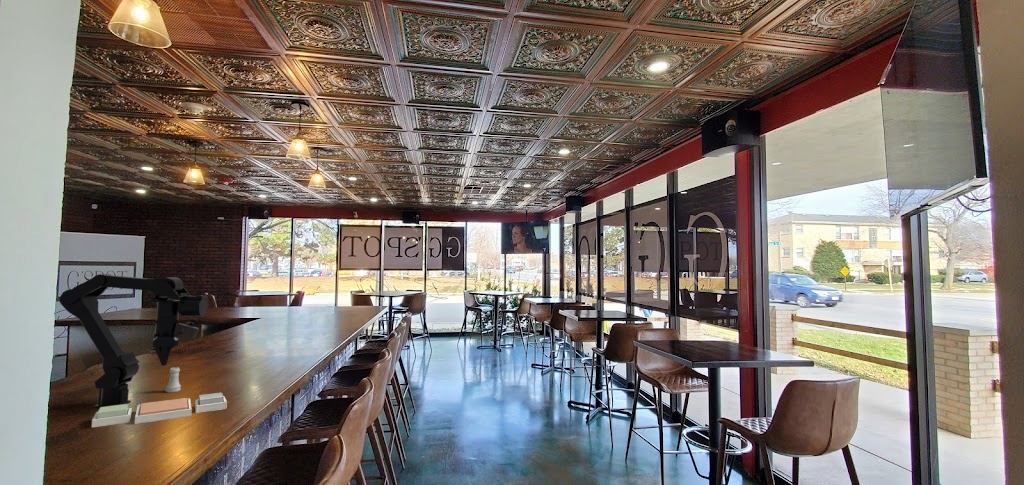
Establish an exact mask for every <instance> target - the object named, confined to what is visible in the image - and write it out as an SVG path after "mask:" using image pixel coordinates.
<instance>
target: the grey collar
mask: <svg viewBox="0 0 1024 485" xmlns="http://www.w3.org/2000/svg"><path fill="white" fill-rule="evenodd" d="M223 397H224V398H223V402H221V403H213V404H206V405H199V398H198V399H195V400H194V408H195V409H194V410H195V413H196V414H200V413H205V412H213V411H220V410H226V409H227V408H228V401H227V399H226V397H225V396H224V395H223Z"/></svg>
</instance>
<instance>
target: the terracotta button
mask: <svg viewBox="0 0 1024 485" xmlns="http://www.w3.org/2000/svg"><path fill="white" fill-rule="evenodd" d="M187 399H188V398H187V397H183V398H175V399H166V400H158V401H150V402H149V401H148V402H142V403H141V404H140V405H141V410H140V414H139V416H140V415H148V414H155V413H162V412H170V411H177V410H185V409H188V403H187Z"/></svg>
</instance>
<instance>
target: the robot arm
mask: <svg viewBox="0 0 1024 485" xmlns="http://www.w3.org/2000/svg"><path fill="white" fill-rule="evenodd" d="M108 288H115V289H126V290H137V291H138V290H139V291H145V292H149V293H151V294H155V295H154V297H152V298H151V299H150V300H149V302H150V303H157V304H156V314H155V315H156V316H155V329H154V331H155V332H154V336H153V339H152V348H154V350H155V353H156V355H157V358H158V360H159V362H160V365H161V366H163V367H165V366H167V363H168V361H169V357H170V353H171V350H172V349H174V348H175V347H177V346H179V335H181V336H185V337H189V338H190V339H195V338H196V336H197V333H198V332H199V330H200V329H199V327H198V326H195V323H194V322H191V321H188V322H187V323H186V324H185V323H181V322H180V319H179V317H180V316H179V315H181V316H182V317H204V316H206V314H207V310H208V304H207V300H206V299H205V298H206V297H205V295H202V294H201V295H191V294H190V293H189V292H188V290H187V289H186V288H185V286H184V282H183V281H182V279H181V278H180V277H176V276H173V277H171V276H170V277H169V276H168V277H157V278H155V277H154V278H149V277H148V278H146V277H145V278H144V277H137V276H135V277H133V276H124V275H123V276H122V275H114V274H109V273H105V274H103V273H102V274H99V273H98V274H96V275H94V276H93V277H91V278H90V279H88V280H86V281H84V282H82V283H80V284H78V285H76V286H74V287H72V288H71V289H66V290H65V291H63V292H61V294H60V296H59V298H58V300H59V304H60V305H61V306H62V307H63V308H64V309H65V310H66V311H67V313H69V314H71V315H73V316H74V317H75V318H77V319H78V320H79V321H80V323H81V325H82V326H83V329H84V330H85V331H86V333H87V334H88V337H89V338H90V340H91V341H92V342H93V345H94V347H95V348H96V350H97V351H98V353H99V354H100V356H101V357H102V366H101V367H102V370H103V373H104V374H103V375H101V376H100V377H99V378H97V380H95V381H94V385H95V388H96V389H99V392H98V403H97V404H94V405H93V406H92V407H93V408H100V407H107V406H115V405H123V404H129V403H131V402H132V400H131V399H129V390H130V389H129V388H128V387H129V382H131V381H132V379H133V377H134V376H136V375H137V373H138V371H139V370H140V365H139V363H140V360H138V359H137V358H136V355H135V353H134V352H133V351H130V352H126V351H124V350H123V349H122V348H121V347H120V345H119V343H118V342H117V340H116V339H115V336H114V335H113V333H112V331H111V330H110V329H109V327H108V325H107V324H106V322H105V320H104V319H103V317H102V315H101V314H100V312H99V300H98V298H99V297H100V296H101V295H102V294H104V293H105V292H106V291H107V289H108Z"/></svg>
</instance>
